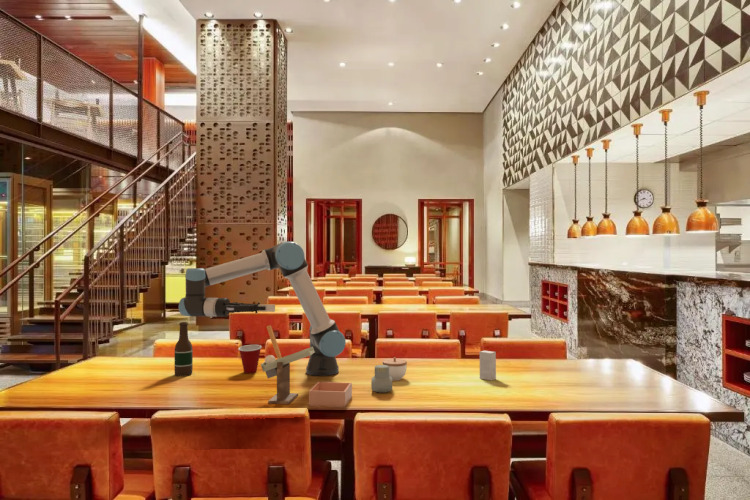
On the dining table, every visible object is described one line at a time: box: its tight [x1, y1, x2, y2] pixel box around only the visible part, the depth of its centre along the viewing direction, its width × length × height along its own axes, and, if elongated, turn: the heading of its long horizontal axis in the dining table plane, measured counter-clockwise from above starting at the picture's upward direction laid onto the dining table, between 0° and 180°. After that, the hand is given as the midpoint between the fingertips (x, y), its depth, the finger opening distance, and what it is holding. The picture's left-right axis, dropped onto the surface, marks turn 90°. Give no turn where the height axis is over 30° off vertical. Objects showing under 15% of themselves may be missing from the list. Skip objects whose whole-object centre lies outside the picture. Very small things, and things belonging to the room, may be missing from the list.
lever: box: [260, 324, 315, 379], centre depth 194 cm, size 20×10×18 cm, turn 82°
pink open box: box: [308, 381, 353, 408], centre depth 190 cm, size 13×13×6 cm
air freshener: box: [370, 364, 393, 394], centre depth 205 cm, size 11×8×10 cm
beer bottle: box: [174, 321, 194, 377], centre depth 233 cm, size 8×8×24 cm
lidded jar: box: [382, 357, 408, 381], centre depth 225 cm, size 11×11×9 cm
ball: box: [264, 354, 276, 364], centre depth 193 cm, size 4×4×4 cm
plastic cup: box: [238, 344, 263, 374], centre depth 238 cm, size 11×11×12 cm
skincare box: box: [478, 350, 497, 381], centre depth 224 cm, size 6×4×12 cm
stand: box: [267, 362, 299, 405], centre depth 193 cm, size 8×11×15 cm
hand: (274, 308), depth 201 cm, fingers closed
